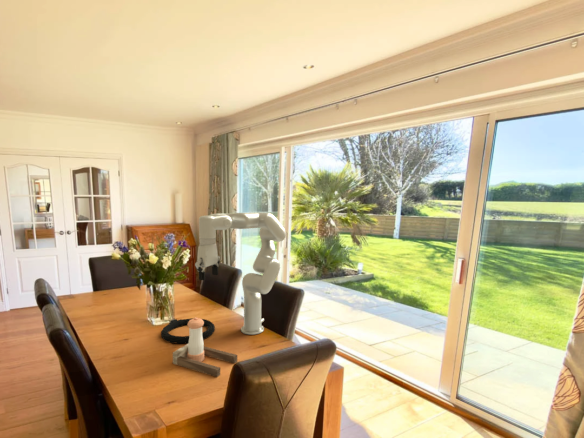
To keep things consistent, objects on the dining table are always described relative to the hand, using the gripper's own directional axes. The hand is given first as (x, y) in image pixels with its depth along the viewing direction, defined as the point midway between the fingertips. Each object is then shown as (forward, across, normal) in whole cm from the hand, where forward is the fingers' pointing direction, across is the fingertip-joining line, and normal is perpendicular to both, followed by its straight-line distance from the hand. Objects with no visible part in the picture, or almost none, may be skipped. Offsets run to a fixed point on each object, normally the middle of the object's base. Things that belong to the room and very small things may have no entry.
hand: (208, 277), depth 151 cm
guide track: (+34, +13, +7) cm, 37 cm away
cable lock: (+35, -9, -23) cm, 43 cm away
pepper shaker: (+34, +12, +2) cm, 37 cm away
